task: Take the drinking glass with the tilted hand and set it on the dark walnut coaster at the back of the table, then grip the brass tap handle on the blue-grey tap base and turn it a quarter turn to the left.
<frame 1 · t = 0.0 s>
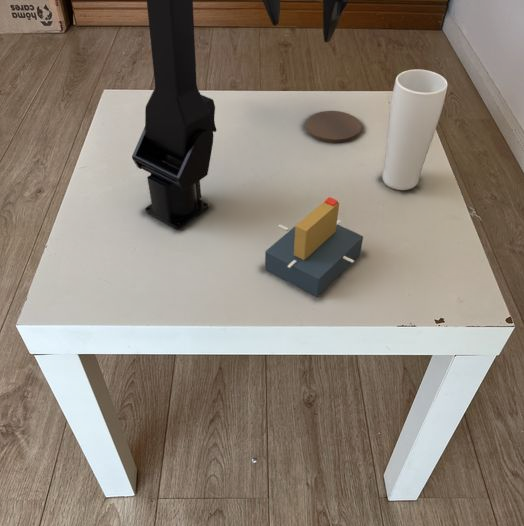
hand: (300, 32, 85), 15 cm above the table, tool pointing down, fingers open, 9 cm apart
tap base: (313, 261, 75), on the table
tap handle: (316, 228, 71), point 5 cm above the table, hinge at 0.0°
coaster: (333, 128, 96), on the table
drinking glass: (399, 182, 86), on the table
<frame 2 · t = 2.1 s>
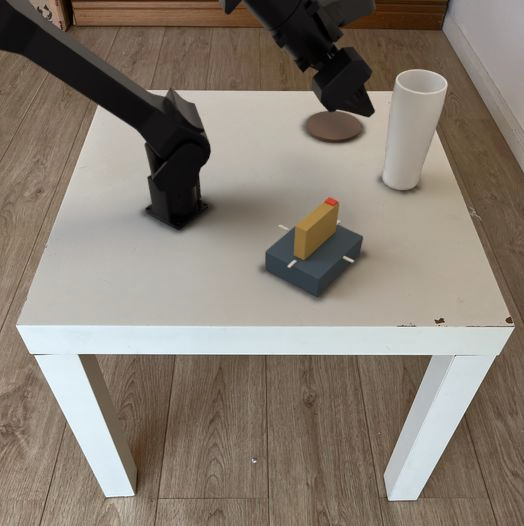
hand: (358, 96, 75), 13 cm above the table, tool tilted 45°, fingers open, 9 cm apart
nothing on the table moved.
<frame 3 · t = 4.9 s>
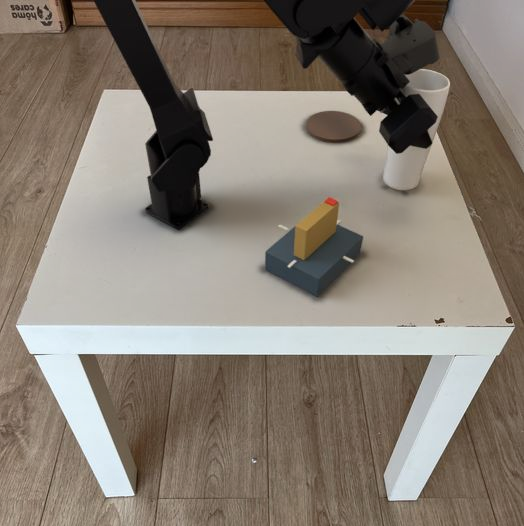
hand: (419, 132, 81), 8 cm above the table, tool tilted 45°, fingers closed on drinking glass, 6 cm apart
drinking glass: (399, 183, 86), on the table, touching gripper
everything else where it was.
when the fingers open (8 cm above the table, at t = 11.2 s): drinking glass stays where it is, resting on coaster.
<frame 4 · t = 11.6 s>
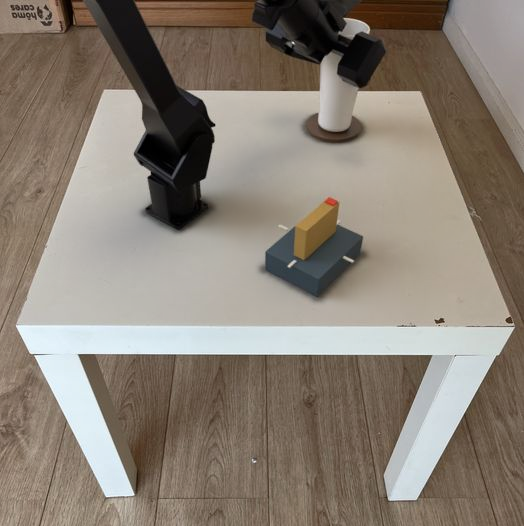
hand: (345, 72, 90), 9 cm above the table, tool tilted 45°, fingers open, 9 cm apart
drinking glass: (333, 126, 95), point 1 cm above the table, touching coaster
everything else where it was.
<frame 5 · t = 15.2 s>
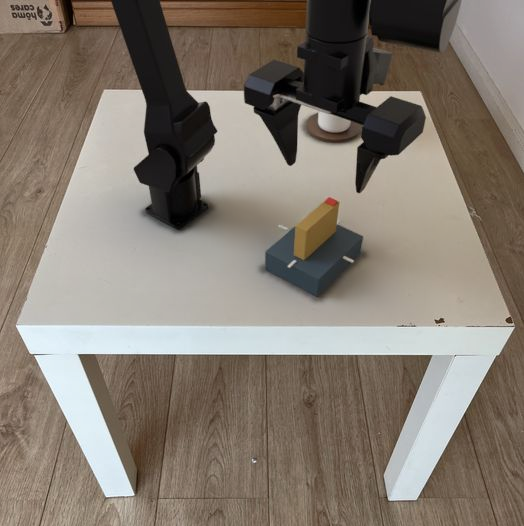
hand: (324, 177, 66), 12 cm above the table, tool pointing down, fingers open, 9 cm apart
nothing on the table moved.
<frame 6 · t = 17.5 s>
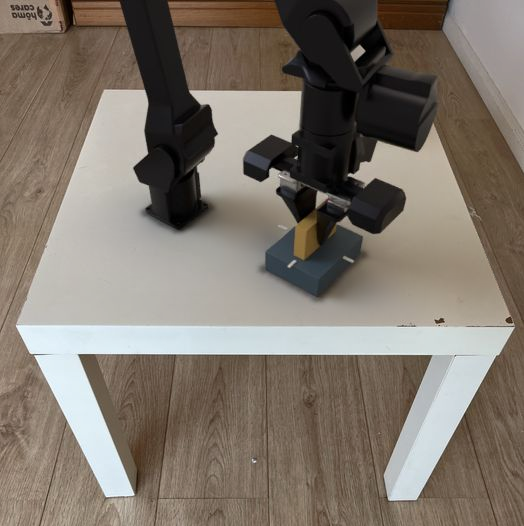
hand: (315, 240, 72), 4 cm above the table, tool pointing down, fingers closed on tap handle, 2 cm apart
tap handle: (316, 228, 71), point 5 cm above the table, hinge at 0.0°, touching gripper
everything else where it was.
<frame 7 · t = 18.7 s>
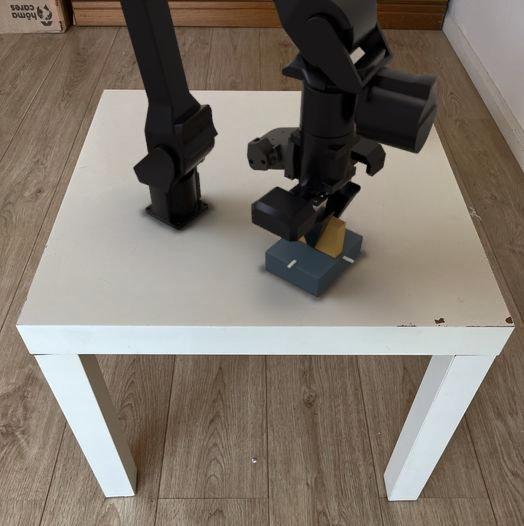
hand: (315, 241, 72), 3 cm above the table, tool pointing down, fingers closed
tap handle: (316, 228, 71), point 5 cm above the table, hinge at 89.4°
everything else where it was.
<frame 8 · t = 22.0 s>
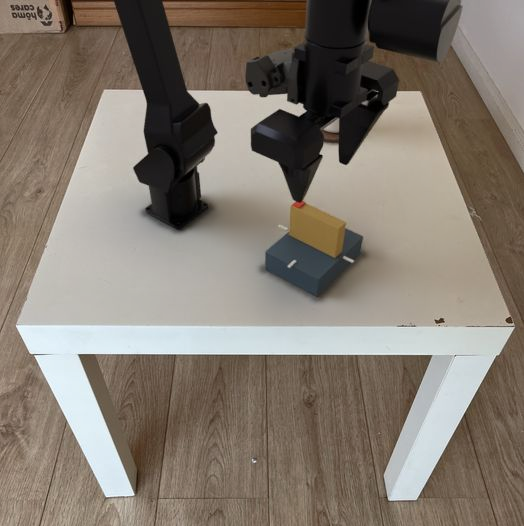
hand: (321, 181, 66), 12 cm above the table, tool pointing down, fingers open, 9 cm apart
nothing on the table moved.
at the end: drinking glass 0.4 cm off-centre on the coaster, point 0.4 cm above the coaster's base; drinking glass tilted 0°; tap handle at +90° (first picture: +0°) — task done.
